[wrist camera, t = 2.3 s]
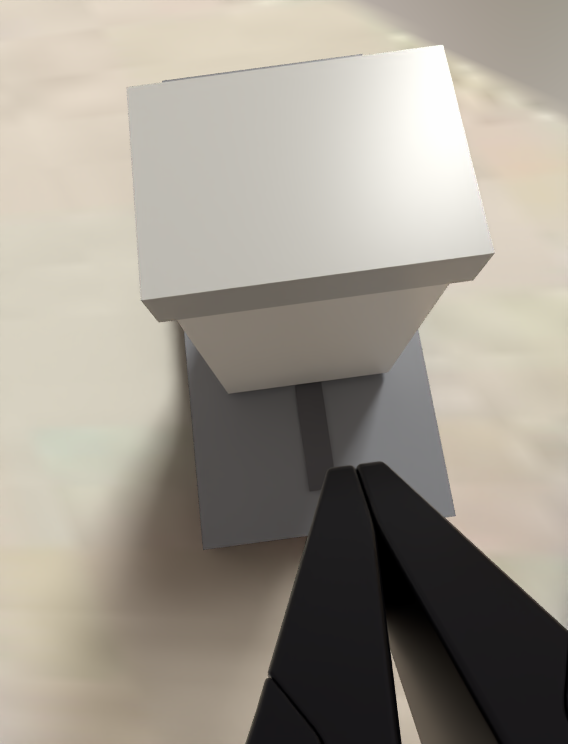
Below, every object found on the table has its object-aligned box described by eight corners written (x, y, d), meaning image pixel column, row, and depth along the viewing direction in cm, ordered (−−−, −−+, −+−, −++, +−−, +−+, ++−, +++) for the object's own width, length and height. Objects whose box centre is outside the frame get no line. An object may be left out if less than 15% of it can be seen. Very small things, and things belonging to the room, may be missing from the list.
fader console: (444, 514, 20) (456, 516, 18) (210, 546, 20) (202, 549, 18) (358, 80, 24) (362, 52, 23) (170, 105, 24) (161, 79, 23)
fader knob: (394, 379, 19) (494, 253, 9) (223, 402, 19) (140, 300, 9) (373, 266, 20) (442, 44, 10) (212, 287, 20) (126, 87, 10)
